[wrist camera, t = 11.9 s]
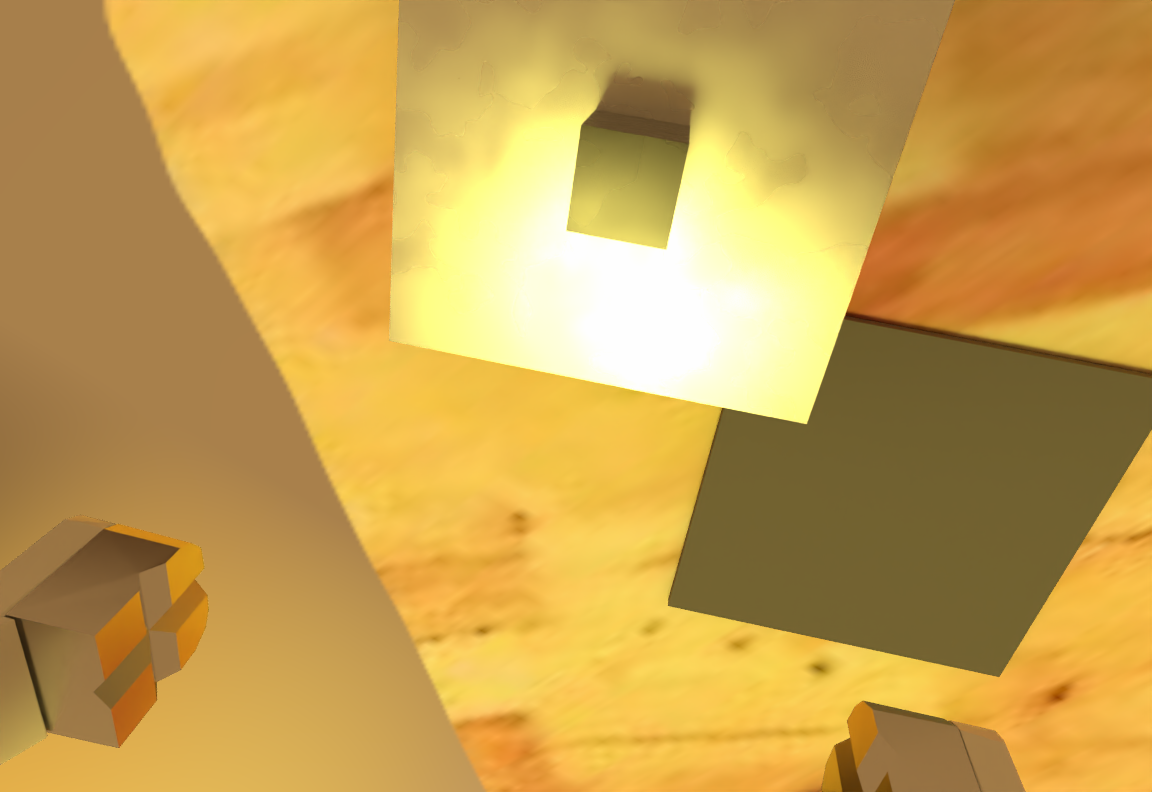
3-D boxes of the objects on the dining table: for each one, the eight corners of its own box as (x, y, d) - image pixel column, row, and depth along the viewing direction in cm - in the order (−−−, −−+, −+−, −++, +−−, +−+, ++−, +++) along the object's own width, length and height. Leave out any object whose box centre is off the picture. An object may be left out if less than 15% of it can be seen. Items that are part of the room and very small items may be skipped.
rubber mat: (1173, 378, 32) (1180, 383, 31) (995, 669, 40) (999, 676, 40) (753, 298, 32) (754, 302, 32) (668, 599, 41) (668, 605, 41)
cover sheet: (974, -82, 20) (1037, -102, 17) (803, 413, 28) (820, 476, 24) (413, -172, 21) (353, -210, 18) (396, 332, 29) (352, 381, 25)
